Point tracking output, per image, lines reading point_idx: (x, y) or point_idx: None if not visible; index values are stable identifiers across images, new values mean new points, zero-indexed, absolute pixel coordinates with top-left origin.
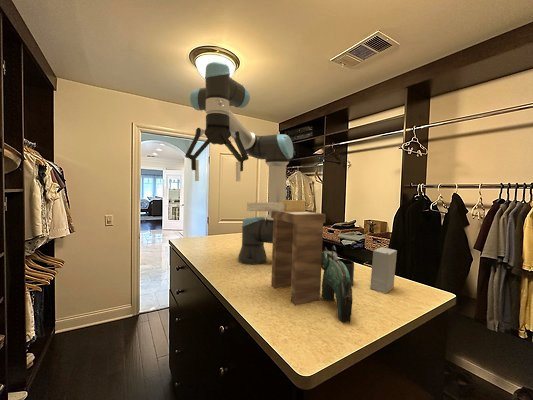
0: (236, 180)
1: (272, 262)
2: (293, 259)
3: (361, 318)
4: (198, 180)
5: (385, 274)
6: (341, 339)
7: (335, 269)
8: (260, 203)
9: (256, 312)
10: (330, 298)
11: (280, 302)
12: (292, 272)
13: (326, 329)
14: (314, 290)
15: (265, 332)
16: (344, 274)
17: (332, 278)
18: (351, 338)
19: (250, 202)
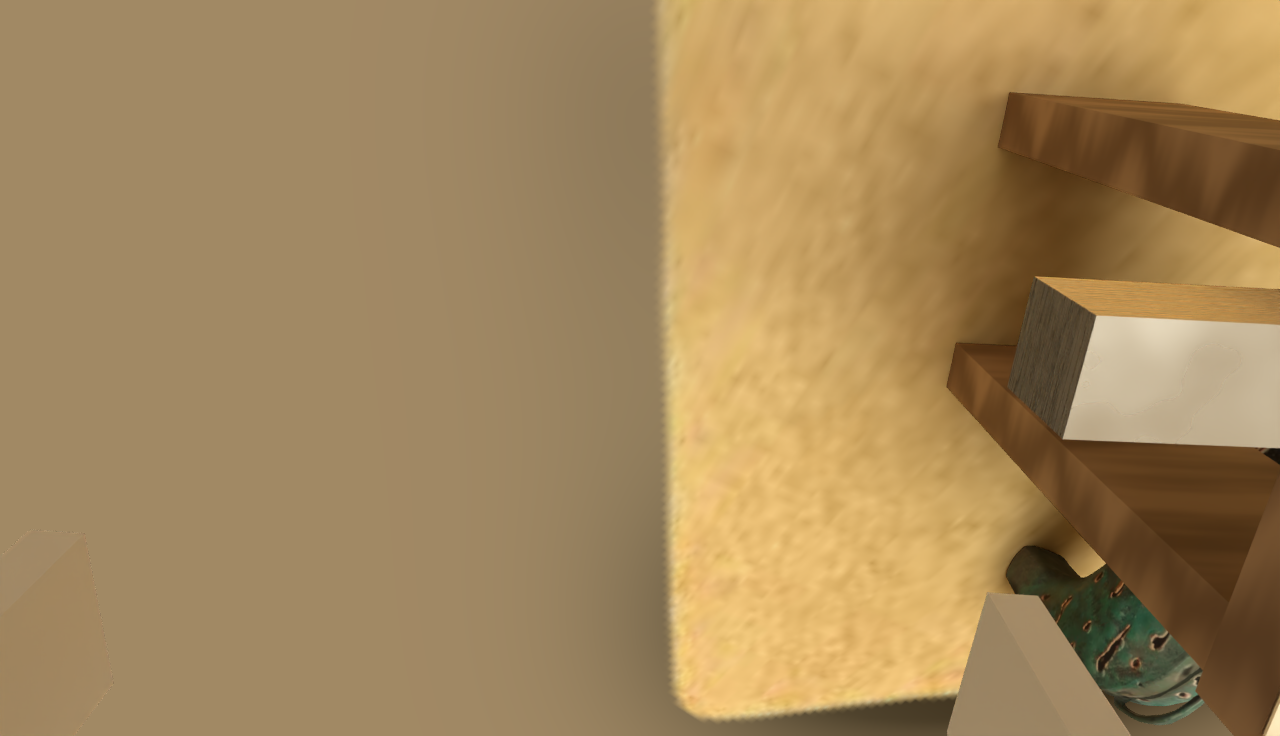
0: (982, 643)
1: (1095, 120)
2: (1068, 471)
3: None
4: (102, 689)
5: None
6: (907, 648)
7: (1154, 658)
8: (1222, 442)
9: (736, 371)
10: None
11: (905, 326)
12: (1026, 425)
13: (912, 588)
14: None
15: (689, 521)
16: (1142, 699)
17: (1117, 615)
18: (943, 656)
19: (1143, 334)
